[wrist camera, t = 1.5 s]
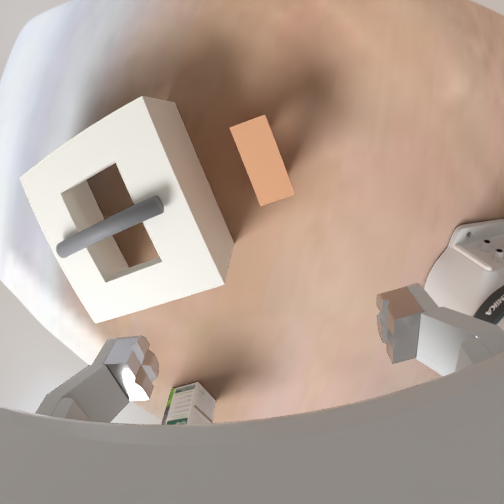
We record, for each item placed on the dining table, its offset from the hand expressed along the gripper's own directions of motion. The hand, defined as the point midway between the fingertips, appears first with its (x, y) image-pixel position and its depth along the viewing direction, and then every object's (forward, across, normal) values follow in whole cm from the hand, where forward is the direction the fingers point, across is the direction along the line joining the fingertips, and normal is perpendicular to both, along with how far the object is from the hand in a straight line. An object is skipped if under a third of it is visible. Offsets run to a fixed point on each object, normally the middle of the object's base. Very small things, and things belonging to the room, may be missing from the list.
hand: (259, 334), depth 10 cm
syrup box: (+27, +19, +32) cm, 45 cm away
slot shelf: (+27, +14, -1) cm, 30 cm away
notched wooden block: (+27, -1, -3) cm, 27 cm away
